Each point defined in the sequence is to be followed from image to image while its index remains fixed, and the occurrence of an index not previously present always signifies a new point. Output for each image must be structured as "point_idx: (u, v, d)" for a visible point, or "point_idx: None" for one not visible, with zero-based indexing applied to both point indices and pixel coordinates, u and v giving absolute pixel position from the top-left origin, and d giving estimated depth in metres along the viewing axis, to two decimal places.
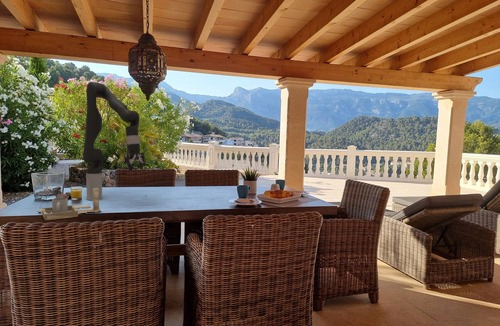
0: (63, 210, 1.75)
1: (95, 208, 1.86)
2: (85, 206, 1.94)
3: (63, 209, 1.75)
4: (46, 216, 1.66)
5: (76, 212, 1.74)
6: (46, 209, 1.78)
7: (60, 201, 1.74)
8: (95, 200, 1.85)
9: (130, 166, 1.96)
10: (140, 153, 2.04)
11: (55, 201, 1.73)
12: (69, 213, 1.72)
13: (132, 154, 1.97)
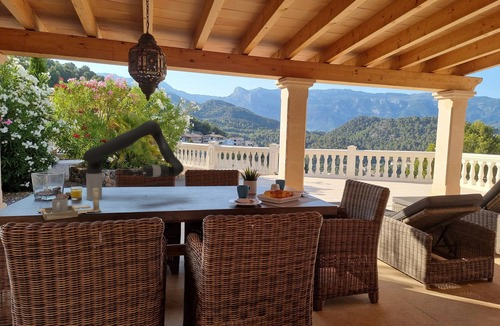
0: (63, 210, 1.75)
1: (95, 208, 1.86)
2: (85, 206, 1.94)
3: (63, 209, 1.75)
4: (46, 216, 1.66)
5: (76, 212, 1.74)
6: (46, 209, 1.78)
7: (60, 201, 1.74)
8: (95, 200, 1.85)
9: (131, 174, 1.92)
10: None
11: (55, 201, 1.73)
12: (69, 213, 1.72)
13: None
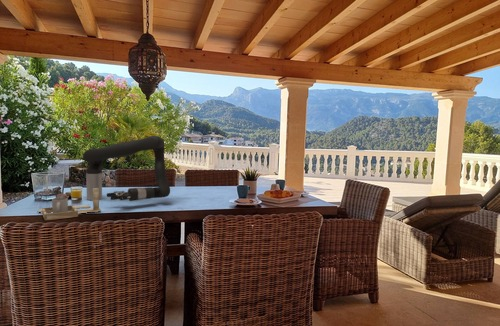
0: (63, 210, 1.75)
1: (95, 208, 1.86)
2: (85, 206, 1.94)
3: (63, 209, 1.75)
4: (46, 216, 1.66)
5: (76, 212, 1.74)
6: (46, 209, 1.78)
7: (60, 201, 1.74)
8: (95, 200, 1.85)
9: (115, 198, 1.88)
10: None
11: (55, 201, 1.73)
12: (69, 213, 1.72)
13: None
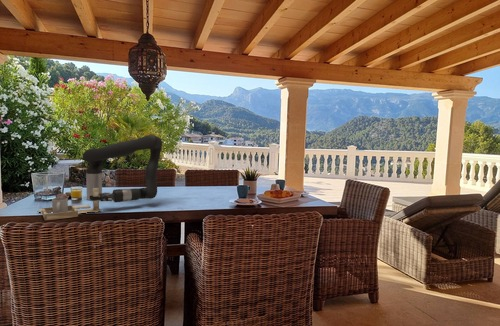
0: (63, 210, 1.75)
1: (95, 208, 1.86)
2: (85, 206, 1.94)
3: (63, 209, 1.75)
4: (46, 216, 1.66)
5: (76, 212, 1.74)
6: (46, 209, 1.78)
7: (60, 201, 1.74)
8: None
9: (96, 199, 1.84)
10: None
11: (55, 201, 1.73)
12: (69, 213, 1.72)
13: None
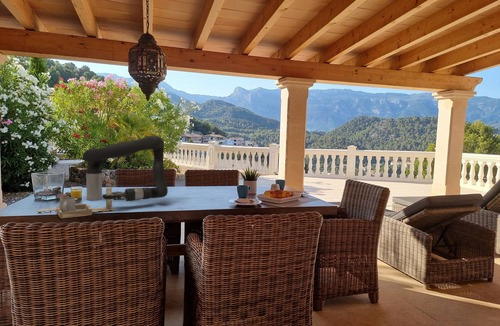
0: (70, 209, 1.77)
1: (108, 207, 1.90)
2: None
3: (70, 208, 1.77)
4: (62, 214, 1.70)
5: (90, 210, 1.78)
6: None
7: (67, 200, 1.76)
8: None
9: (109, 198, 1.88)
10: None
11: (62, 200, 1.75)
12: (84, 211, 1.77)
13: None
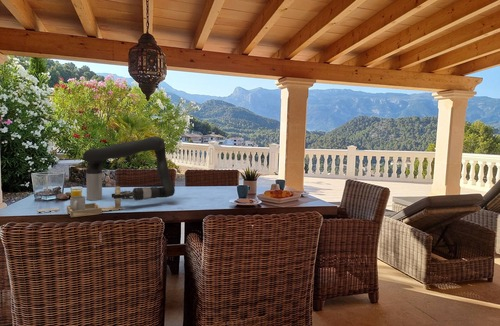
0: (80, 208, 1.80)
1: (117, 206, 1.93)
2: None
3: (80, 207, 1.80)
4: (72, 213, 1.73)
5: (100, 209, 1.81)
6: None
7: (77, 199, 1.79)
8: None
9: (118, 197, 1.91)
10: None
11: (73, 199, 1.78)
12: (93, 210, 1.79)
13: None
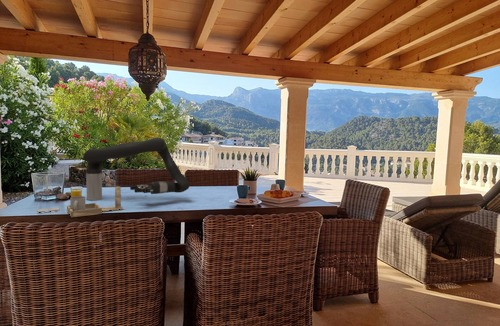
0: (80, 208, 1.80)
1: (117, 206, 1.93)
2: None
3: (80, 207, 1.80)
4: (72, 213, 1.73)
5: (100, 209, 1.81)
6: None
7: (77, 200, 1.79)
8: (117, 197, 1.92)
9: (139, 191, 1.97)
10: None
11: (73, 199, 1.78)
12: (94, 210, 1.80)
13: None
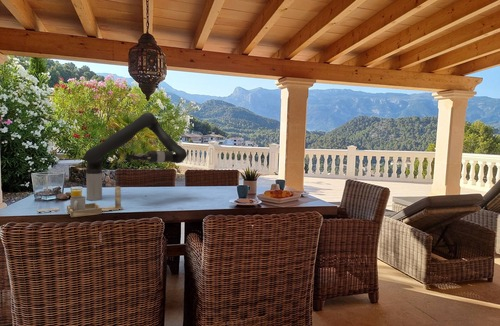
0: (80, 208, 1.80)
1: (117, 206, 1.93)
2: None
3: (80, 207, 1.80)
4: (72, 213, 1.73)
5: (100, 209, 1.81)
6: None
7: (77, 200, 1.79)
8: (117, 197, 1.92)
9: (136, 159, 1.97)
10: None
11: (73, 199, 1.78)
12: (94, 210, 1.80)
13: None
